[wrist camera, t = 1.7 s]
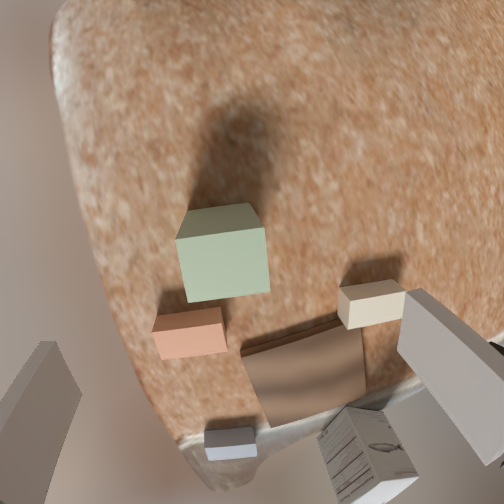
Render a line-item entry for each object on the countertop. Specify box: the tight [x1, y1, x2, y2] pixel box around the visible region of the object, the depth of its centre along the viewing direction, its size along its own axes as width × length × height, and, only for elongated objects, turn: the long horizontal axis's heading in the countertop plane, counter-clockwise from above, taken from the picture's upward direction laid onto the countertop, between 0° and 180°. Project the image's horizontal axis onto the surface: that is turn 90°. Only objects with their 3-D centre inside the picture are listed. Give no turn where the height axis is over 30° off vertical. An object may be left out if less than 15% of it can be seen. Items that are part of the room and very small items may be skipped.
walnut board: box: [240, 318, 366, 428], centre depth 31 cm, size 12×12×1 cm
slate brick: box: [204, 426, 257, 460], centre depth 33 cm, size 6×3×3 cm, turn 94°
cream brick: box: [337, 279, 407, 330], centre depth 28 cm, size 6×3×3 cm, turn 94°
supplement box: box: [317, 406, 419, 504], centre depth 30 cm, size 7×7×13 cm
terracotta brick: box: [152, 306, 228, 360], centre depth 27 cm, size 6×3×3 cm, turn 98°
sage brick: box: [175, 202, 270, 303], centre depth 22 cm, size 4×5×8 cm
